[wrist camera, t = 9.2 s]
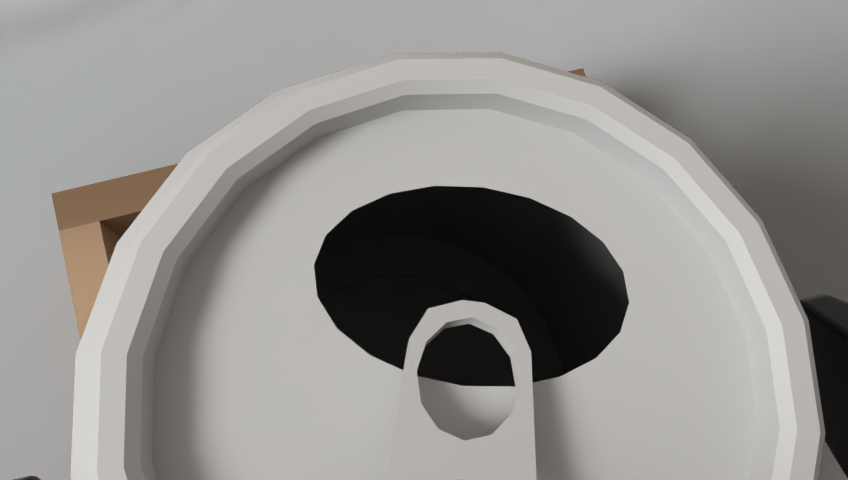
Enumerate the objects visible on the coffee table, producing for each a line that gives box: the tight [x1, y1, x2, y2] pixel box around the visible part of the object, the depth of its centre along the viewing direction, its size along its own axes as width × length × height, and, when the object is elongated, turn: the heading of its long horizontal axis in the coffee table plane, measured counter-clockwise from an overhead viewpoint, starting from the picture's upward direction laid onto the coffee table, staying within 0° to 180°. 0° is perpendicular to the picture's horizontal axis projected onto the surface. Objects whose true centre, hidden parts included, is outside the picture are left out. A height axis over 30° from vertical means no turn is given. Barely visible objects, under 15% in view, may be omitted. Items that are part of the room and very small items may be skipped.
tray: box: [52, 68, 586, 339], centre depth 17 cm, size 12×12×3 cm
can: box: [71, 52, 825, 480], centre depth 12 cm, size 8×8×12 cm
